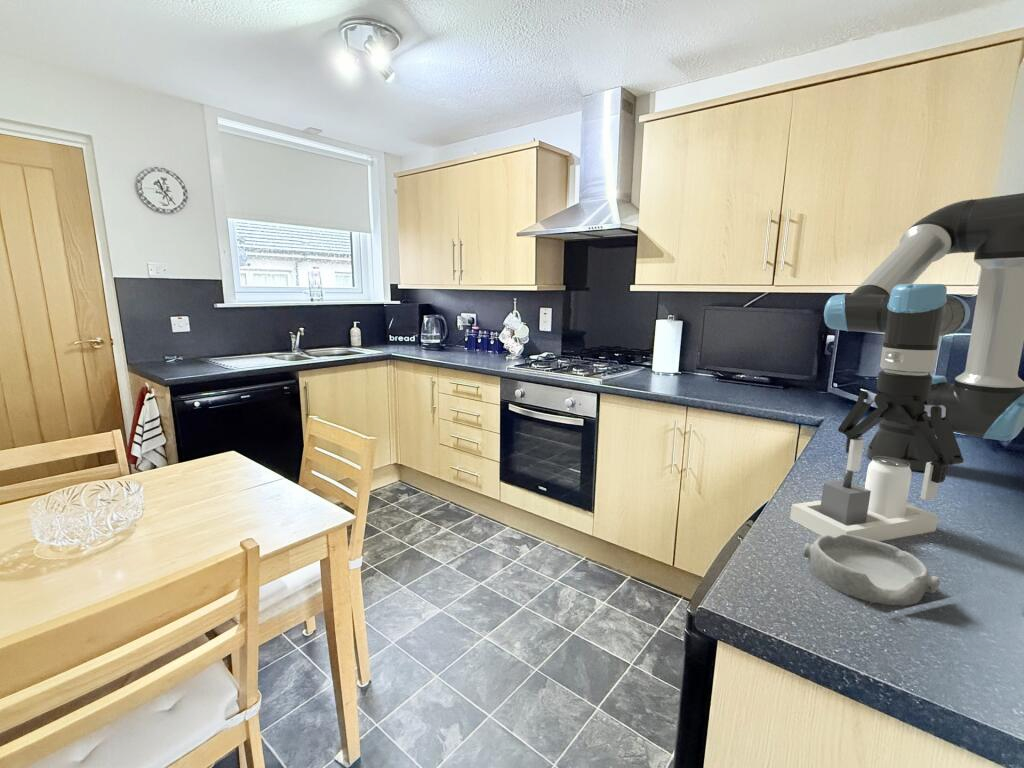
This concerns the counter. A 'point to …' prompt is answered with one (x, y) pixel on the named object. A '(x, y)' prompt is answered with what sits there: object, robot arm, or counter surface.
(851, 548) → the dish
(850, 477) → the seated block
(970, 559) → the counter surface
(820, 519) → the white flat tray
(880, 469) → the can
